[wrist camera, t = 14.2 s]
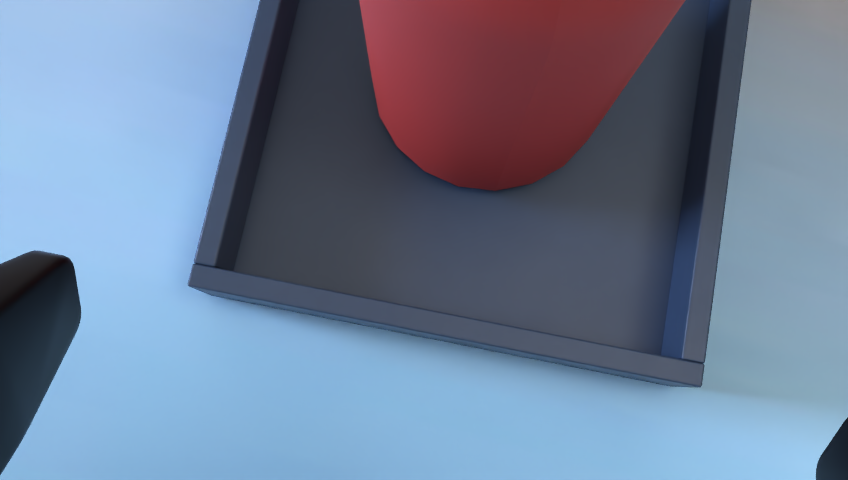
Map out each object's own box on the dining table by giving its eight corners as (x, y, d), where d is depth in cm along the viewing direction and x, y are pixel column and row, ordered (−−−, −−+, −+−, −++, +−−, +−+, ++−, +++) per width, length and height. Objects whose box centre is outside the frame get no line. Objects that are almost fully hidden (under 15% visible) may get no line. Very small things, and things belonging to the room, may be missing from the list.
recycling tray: (673, 386, 21) (702, 387, 19) (210, 294, 21) (186, 285, 19) (739, -100, 24) (770, -148, 22) (326, -174, 24) (317, -228, 22)
